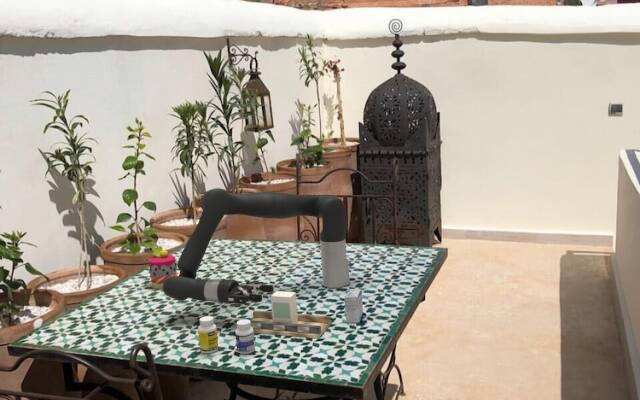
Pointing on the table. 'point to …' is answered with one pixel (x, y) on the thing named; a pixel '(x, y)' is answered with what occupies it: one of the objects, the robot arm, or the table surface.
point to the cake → (161, 267)
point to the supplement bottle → (207, 335)
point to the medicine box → (353, 306)
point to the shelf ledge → (290, 325)
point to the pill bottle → (244, 337)
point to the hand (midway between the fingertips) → (267, 293)
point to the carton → (284, 307)
